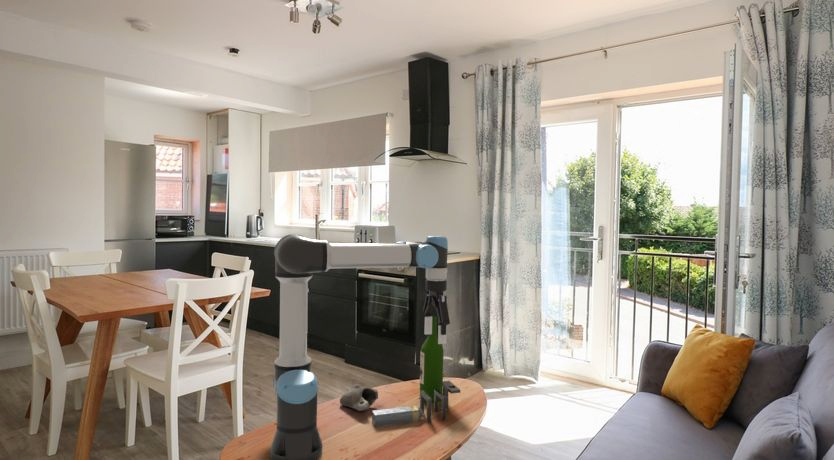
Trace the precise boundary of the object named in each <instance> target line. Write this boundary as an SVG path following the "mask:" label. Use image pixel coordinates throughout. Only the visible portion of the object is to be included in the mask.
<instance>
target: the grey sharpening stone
mask: <svg viewBox="0 0 834 460" xmlns="http://www.w3.org/2000/svg"><path fill="white" fill-rule="evenodd" d="M423 416H424V414H423V411H422V409H421V408H420V406H419V407H418V406H417V405H410V406H409V405H408V406H407V405H406V406H401V407H400V406H399V407H392V408H385V409H375V410H371V423H372V425H373V426H374V427H375V428H376V427H384V426H391V425H399V424H408V423H415V422H420V419H421V418H422V417H423Z"/></svg>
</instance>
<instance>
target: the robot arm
mask: <svg viewBox="0 0 834 460" xmlns="http://www.w3.org/2000/svg"><path fill="white" fill-rule="evenodd" d="M448 245H449V243H448V238H447V236H443V235H428V236H427V237H426V241H404V240H403V241H397V242H395V243H330V242H329V241H328V240H326V239H323V240H322V239H313V238H308V237H306V236H304V235H302V234H296V233H292V234H287V235H284V236H282V237H281V238H280V239H279V240H278V241H277V243H276V244H275V246H274V252H273V254H274V255H273V256H274V259H275V262H274V263H275V264H274V265H275V272H274V273H275V278H276V279H277V280H278V282H279V287H280V288H279V349H278V350H279V351H278V352H279V356H278V357H277V358H276V359H274V366H273V367H274V369H273V371H274V374H273V377H272V385H273V386H272V387H273V389H274V394H275V399H276V430H275V434H274V436H273V439H272V442H271V444H270V448H269V457H270V458H269V459H270V460H271V459H272V460H319V458H320V457H321V456H322V455H323V442H322V439H321V436H320V432H319V429H318V423H317V422H318V390H319V384H318V378H317V375H315V374H314V373H313V371H312V357H310V356H309V355H308V293H309V292H308V291H309V290H308V282H309V281H310V280H311V279H312V278H313V273H326V272H328V271H329V270H330V269H331V270H332V269H374V268H376V269H379V268H380V269H381V268H382V269H383V268H384V269H385V268H387V269H388V268H389V269H390V268H422V269H425V297H424V303H423V306H422V310H421V311H422V314H423V315H424V331H423V332H424V335H426V336H428V334H432V316H434V314H433V312H434V310H436V314H437V315H436V316H437V319H438V324H437V325H438V332H437V335H438V336H437V338H438V344H441V345H446V344H447V326H448V325H450V324H451V321H450V316H449V309H448V303H447V299H448V298H447V295H443V292H446V291H447V290H448V289H447V288H448V287H447V286H448V284H447V283H448V281H447V278H448V277H447V276H448V254H449V253H448V250H449V246H448Z"/></svg>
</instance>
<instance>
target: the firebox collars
mask: <svg viewBox="0 0 834 460" xmlns="http://www.w3.org/2000/svg"><path fill="white" fill-rule="evenodd" d="M441 385H442V386H443V394H442V393H441V392H440V391H439V390H438V389H434V404H432V399H431V398H430V397H429V396H428V395H427V394H426V393H425V392H424V391H420V390H419V408H421V409H422V411H423V415H425V403H424V399H425V400H426V401H427V404H426V422H427V423H428V424H429V423H432V405H433V412H434V413H439V403H438V397H439V398H441V399H442V401H441V414H440V415H441V416H440V417H441V418H440V419H441V421H446V420H447V410H448V409H449V393H450V394H451V395H452V394H458V393H459V394H461V389H460V388H459V387H457V386H456V385H455V383H453V382H451V380H443V381H442V382H441Z"/></svg>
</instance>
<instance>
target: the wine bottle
mask: <svg viewBox="0 0 834 460" xmlns="http://www.w3.org/2000/svg"><path fill="white" fill-rule="evenodd" d="M437 319H438V316H434V315H433V316H432V334H427V338H426V339H425V340H424V342H423V344H422V345H421V347H420V355H419V356H420V357H419V358H420V359H419V362H420V364H419V365H420V366H419V392H420V391H424V392H425V393H426V394H427V395H428V396H429V397H430V398H431V399H432V405H434V389H438V390H439V391H440V392H441V393H442V394H443V386H442V385H441V382H442V381H444V347H443V344H438V336H437V325H438V324H437ZM426 403H427V401H426V400H425V399H424V404H426ZM440 403H442V399H441V398H439V397H438V404H440Z"/></svg>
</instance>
